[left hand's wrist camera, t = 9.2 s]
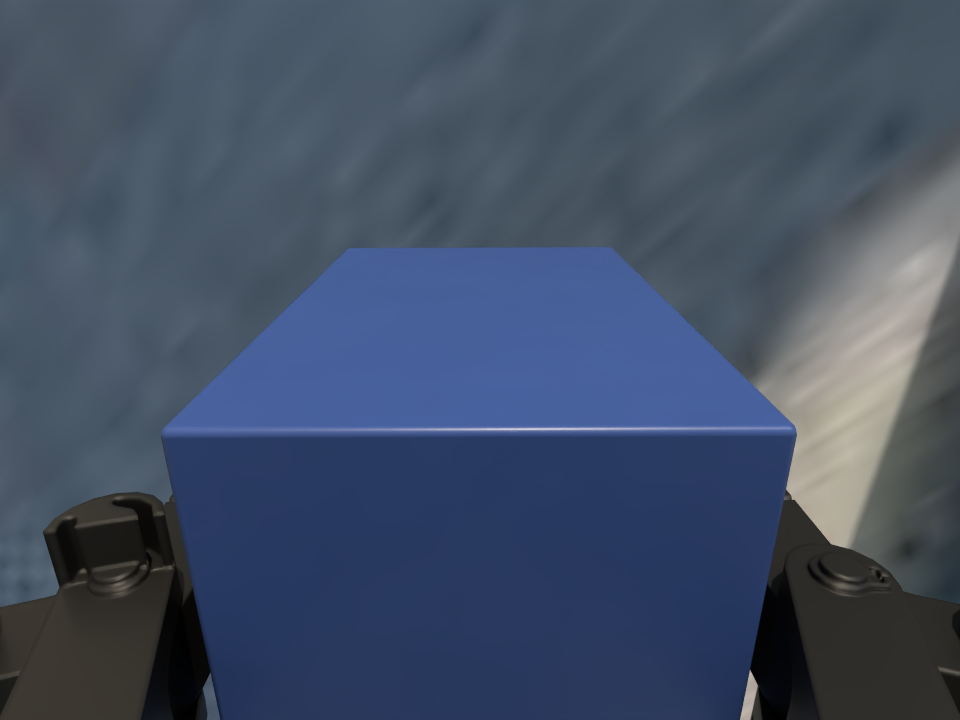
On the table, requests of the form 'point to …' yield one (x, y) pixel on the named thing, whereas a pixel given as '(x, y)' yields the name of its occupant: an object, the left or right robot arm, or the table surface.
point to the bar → (479, 498)
